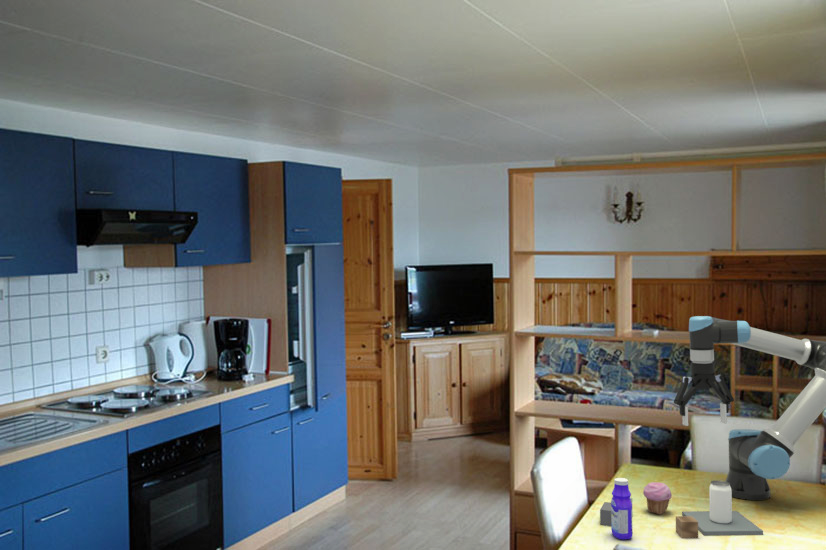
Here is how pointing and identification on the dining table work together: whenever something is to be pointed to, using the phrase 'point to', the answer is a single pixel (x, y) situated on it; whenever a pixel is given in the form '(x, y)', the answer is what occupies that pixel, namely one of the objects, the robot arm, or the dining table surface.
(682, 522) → the walnut block
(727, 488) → the can
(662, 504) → the cupcake
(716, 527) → the board
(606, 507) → the charcoal block
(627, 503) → the bottle
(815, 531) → the dining table surface
